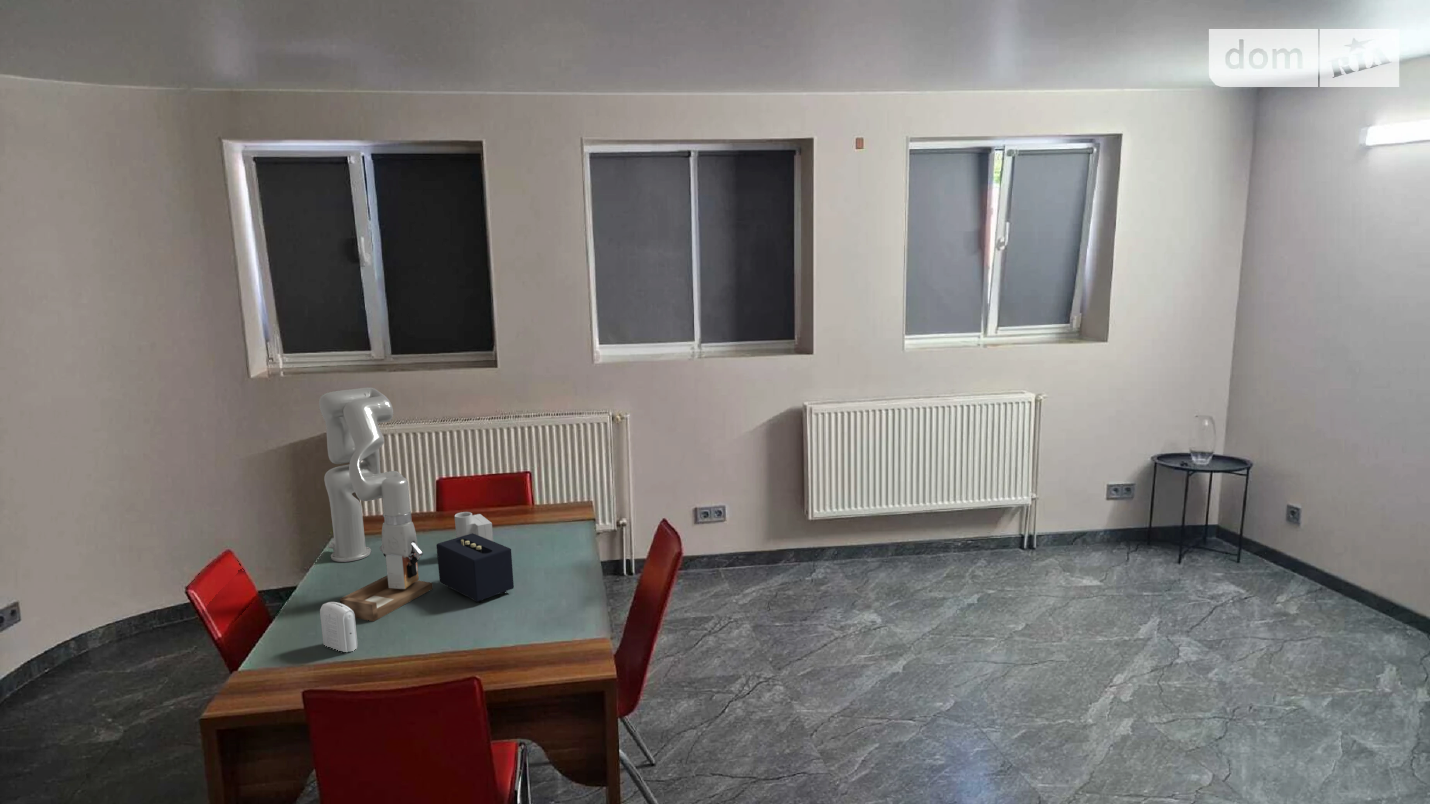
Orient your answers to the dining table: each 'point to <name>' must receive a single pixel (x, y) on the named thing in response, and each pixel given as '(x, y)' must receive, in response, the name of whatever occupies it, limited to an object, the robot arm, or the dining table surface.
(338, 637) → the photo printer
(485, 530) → the white desk organizer
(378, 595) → the wooden tray
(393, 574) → the small box
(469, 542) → the speaker
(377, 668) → the dining table surface
